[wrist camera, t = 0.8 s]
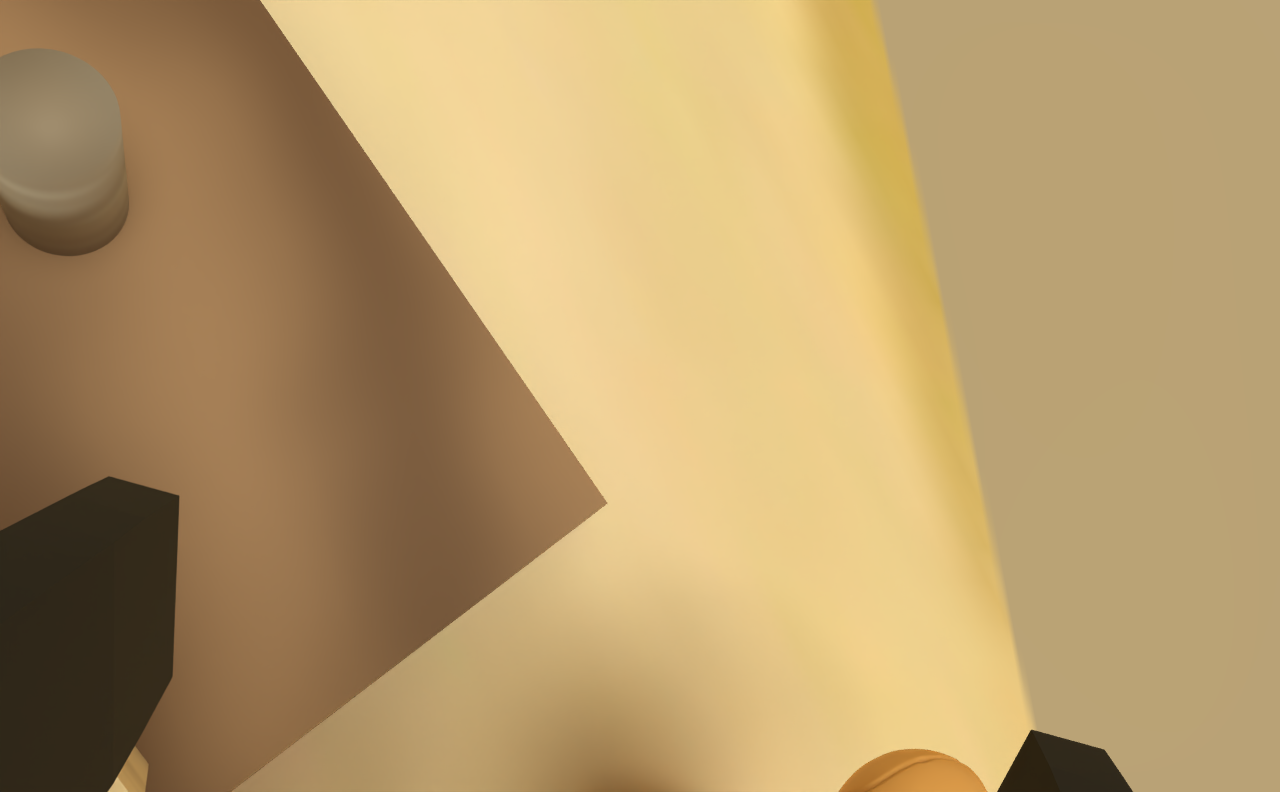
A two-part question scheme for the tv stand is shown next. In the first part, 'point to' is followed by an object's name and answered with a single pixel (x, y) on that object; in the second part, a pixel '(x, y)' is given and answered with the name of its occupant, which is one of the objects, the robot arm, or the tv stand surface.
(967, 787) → the figurine
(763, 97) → the tv stand surface
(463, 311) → the wooden tray
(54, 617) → the robot arm
